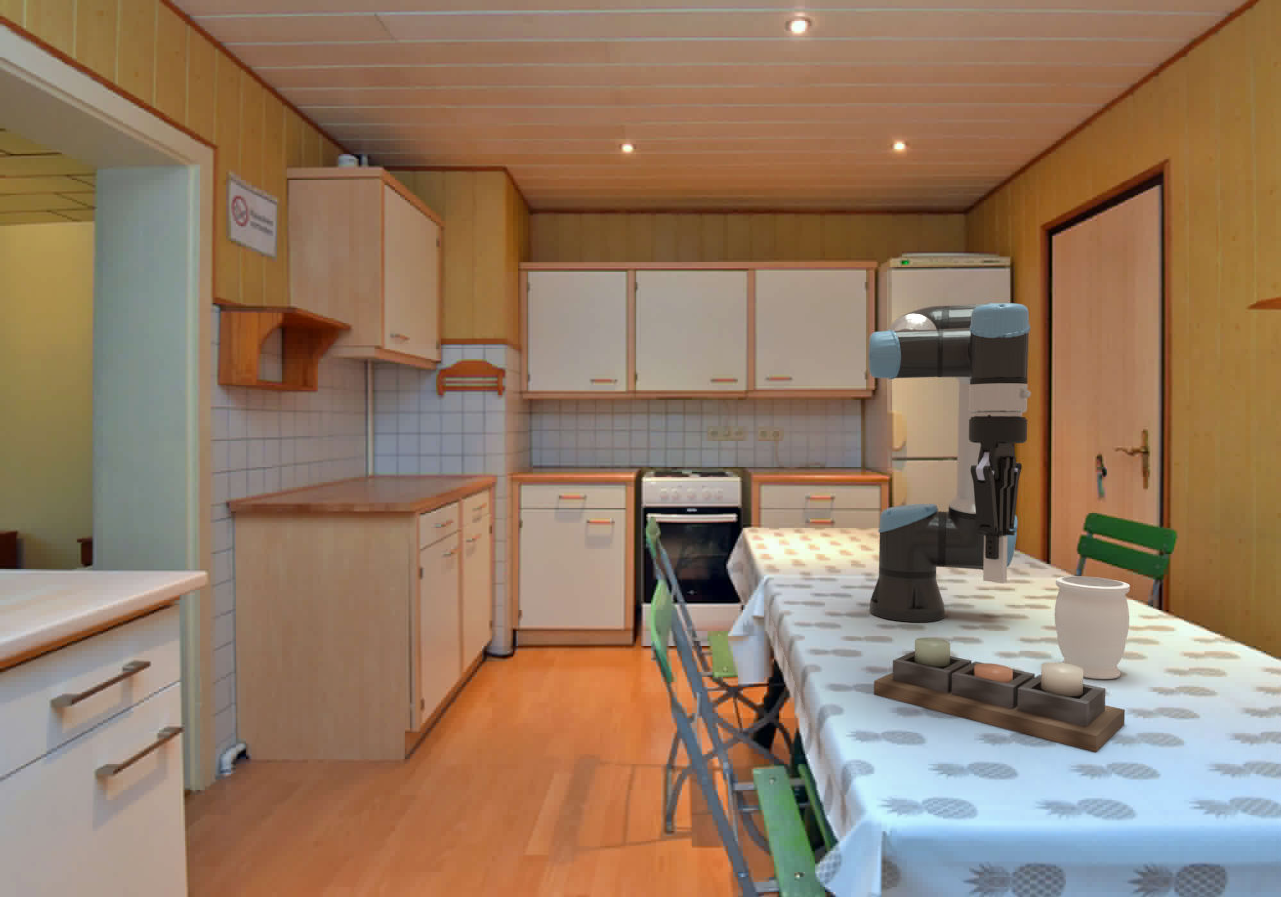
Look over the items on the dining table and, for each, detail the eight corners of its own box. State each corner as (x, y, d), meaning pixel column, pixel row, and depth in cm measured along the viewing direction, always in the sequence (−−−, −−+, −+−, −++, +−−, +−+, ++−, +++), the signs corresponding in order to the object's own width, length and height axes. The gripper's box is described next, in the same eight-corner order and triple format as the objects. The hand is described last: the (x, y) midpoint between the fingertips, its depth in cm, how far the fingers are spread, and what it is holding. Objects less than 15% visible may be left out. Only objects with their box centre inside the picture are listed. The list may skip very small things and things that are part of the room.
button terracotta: (968, 689, 114) (968, 668, 114) (982, 681, 118) (982, 661, 118) (1004, 697, 111) (1005, 676, 111) (1017, 689, 114) (1018, 668, 114)
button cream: (1035, 690, 108) (1035, 667, 108) (1048, 681, 112) (1048, 660, 111) (1076, 699, 104) (1076, 676, 104) (1087, 690, 108) (1088, 667, 108)
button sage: (908, 661, 121) (909, 642, 120) (923, 655, 124) (923, 635, 124) (941, 669, 117) (941, 648, 117) (955, 661, 121) (955, 642, 121)
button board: (873, 694, 120) (874, 661, 120) (913, 674, 130) (913, 644, 129) (1096, 752, 99) (1097, 712, 99) (1124, 724, 109) (1125, 687, 108)
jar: (1119, 666, 134) (1121, 577, 134) (1135, 685, 125) (1137, 589, 124) (1049, 660, 138) (1050, 573, 137) (1059, 678, 128) (1061, 585, 128)
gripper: (1008, 414, 106) (1004, 592, 107) (1041, 415, 115) (1038, 578, 116) (952, 414, 111) (949, 584, 112) (988, 415, 120) (986, 571, 121)
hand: (994, 581), depth 114 cm, fingers closed
